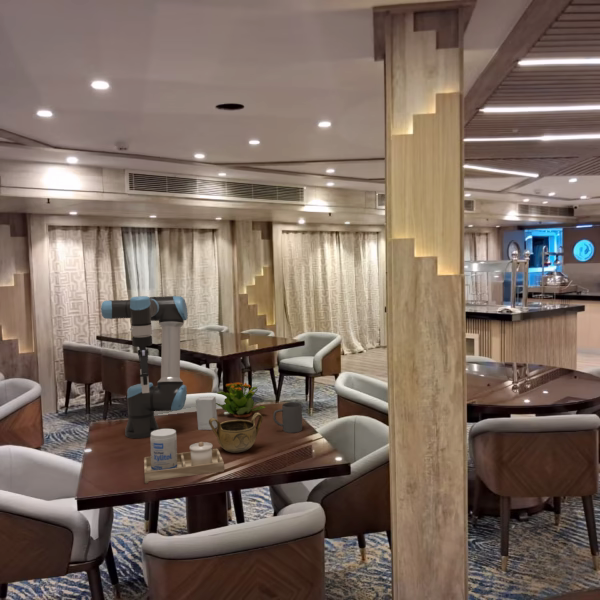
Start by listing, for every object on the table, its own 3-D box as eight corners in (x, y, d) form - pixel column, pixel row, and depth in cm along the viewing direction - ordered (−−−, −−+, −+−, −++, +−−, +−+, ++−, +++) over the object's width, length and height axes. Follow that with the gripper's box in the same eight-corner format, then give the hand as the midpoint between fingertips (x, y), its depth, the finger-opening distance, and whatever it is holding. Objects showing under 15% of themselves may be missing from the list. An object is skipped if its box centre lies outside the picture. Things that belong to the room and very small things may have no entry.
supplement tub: (153, 477, 201) (151, 437, 200) (149, 468, 210) (147, 430, 209) (180, 472, 205) (178, 433, 204) (175, 464, 213) (173, 426, 213)
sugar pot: (189, 463, 214) (188, 439, 213) (211, 460, 216) (210, 437, 216) (191, 471, 206) (190, 446, 205) (214, 468, 208) (213, 443, 207)
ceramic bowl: (215, 461, 218) (213, 423, 217) (206, 448, 233) (204, 413, 233) (269, 452, 226) (267, 416, 225) (256, 441, 242) (255, 407, 241)
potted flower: (275, 411, 289) (273, 378, 288) (253, 424, 268) (251, 388, 267) (233, 408, 300) (232, 376, 299) (209, 419, 278) (208, 385, 277)
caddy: (144, 467, 213) (144, 457, 213) (218, 458, 221) (217, 448, 221) (144, 483, 197) (144, 472, 197) (224, 473, 205) (223, 462, 204)
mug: (299, 426, 262) (298, 401, 261) (305, 431, 253) (304, 405, 252) (271, 429, 258) (270, 404, 257) (276, 435, 249) (275, 409, 248)
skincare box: (217, 426, 265) (216, 396, 264) (213, 430, 259) (212, 399, 258) (201, 426, 267) (200, 396, 266) (196, 430, 261) (195, 399, 260)
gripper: (131, 332, 227) (134, 382, 229) (132, 341, 204) (135, 397, 206) (150, 330, 230) (153, 380, 232) (153, 339, 206) (156, 395, 208)
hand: (145, 388), depth 219 cm, fingers open, 13 cm apart
